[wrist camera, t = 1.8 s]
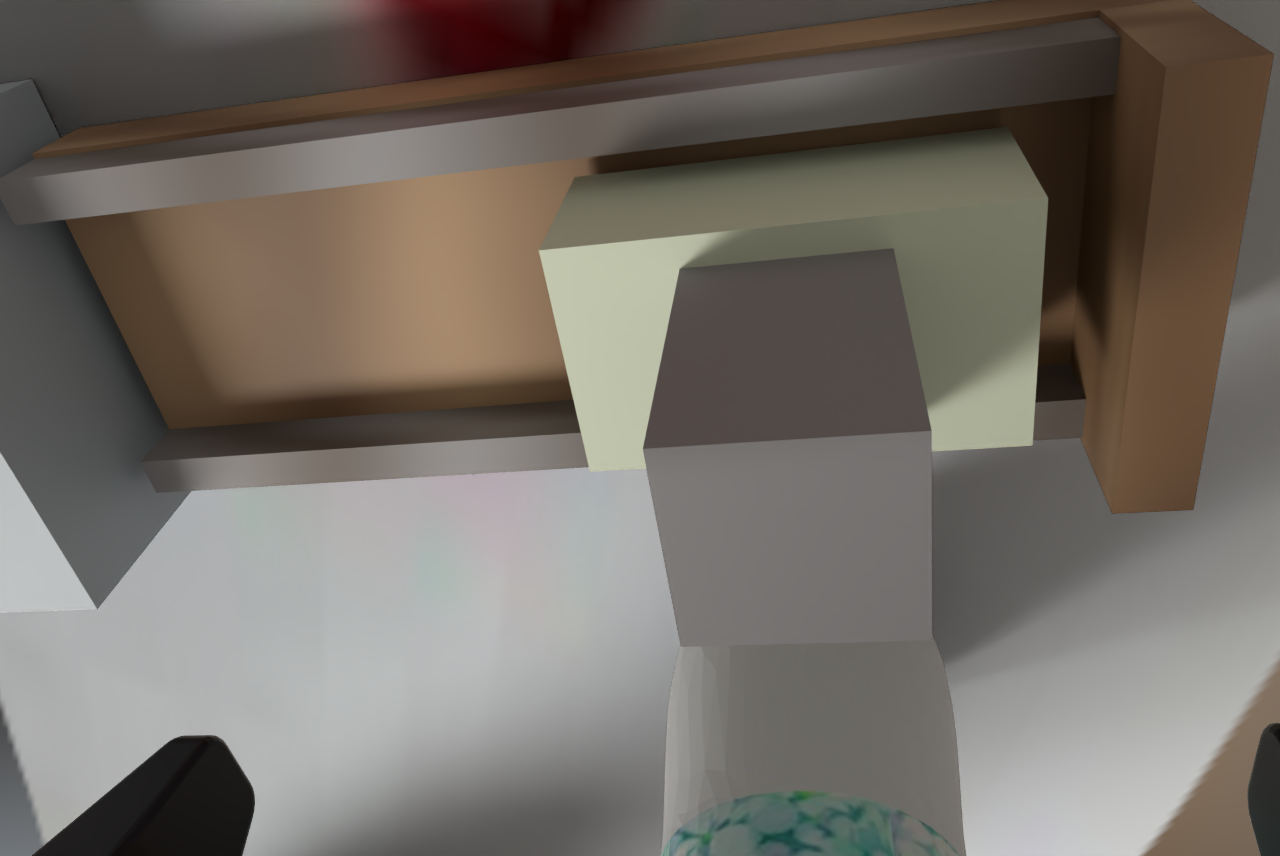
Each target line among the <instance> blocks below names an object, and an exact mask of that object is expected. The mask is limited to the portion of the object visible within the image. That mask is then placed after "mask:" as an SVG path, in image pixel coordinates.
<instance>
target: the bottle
mask: <svg viewBox="0 0 1280 856" xmlns="http://www.w3.org/2000/svg"><path fill="white" fill-rule="evenodd" d="M661 856H966V850H965V842H964V835H963V821H962V807H961V793H960V779H959V764H958V750H957V739H956V731H955V723H954V715H953V707H952V702H951V697H950V692H949V687H948V682H947V677H946V672H945V667H944V664H943V661H942V658H941V655H940V653H939V650H938V648H937V645H936V642H935V640H934V637H933V636H932V641H896V642H856V643H815V644H774V645H734V646H693V647H681V645H680V648H679V652H678V656H677V661H676V665H675V669H674V674H673V679H672V685H671V692H670V698H669V705H668V719H667V737H666V757H665V789H664V822H663V838H662V850H661Z"/></svg>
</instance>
